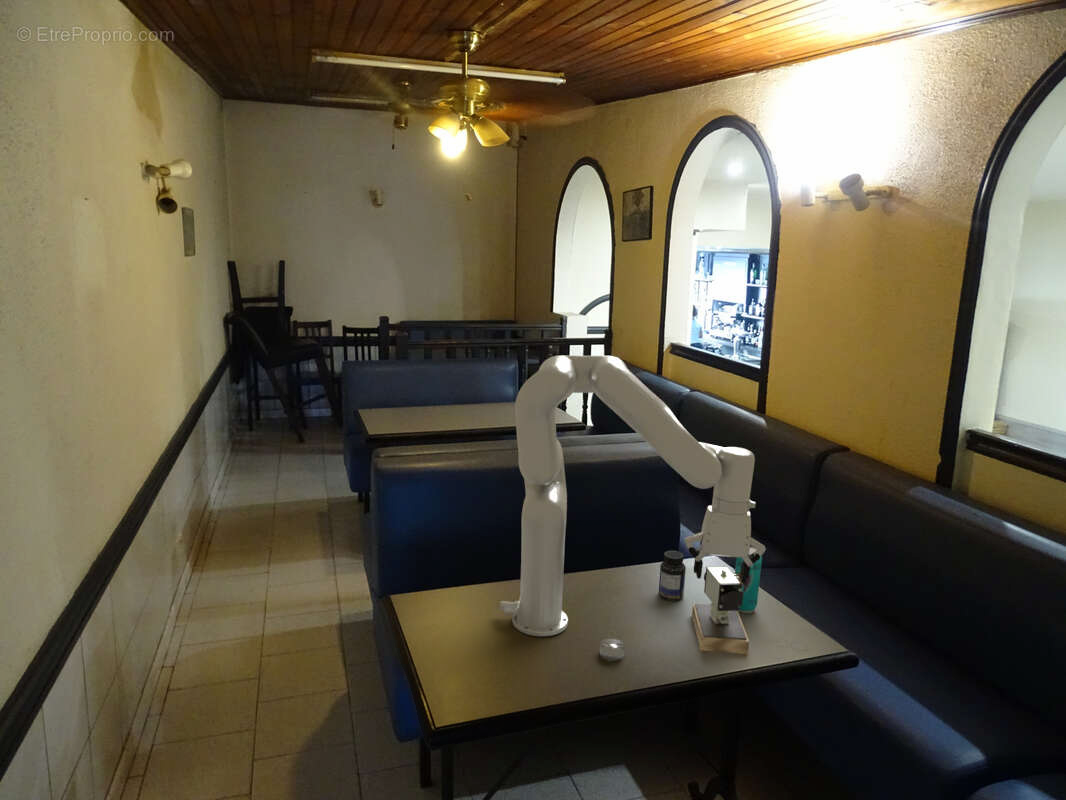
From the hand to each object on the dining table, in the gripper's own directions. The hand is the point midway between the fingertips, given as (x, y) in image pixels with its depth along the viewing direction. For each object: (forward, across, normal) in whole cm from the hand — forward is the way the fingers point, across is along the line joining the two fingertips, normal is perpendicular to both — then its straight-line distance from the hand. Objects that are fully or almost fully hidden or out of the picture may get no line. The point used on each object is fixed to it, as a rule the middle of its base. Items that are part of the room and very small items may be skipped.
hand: (720, 578), depth 161 cm
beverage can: (+13, -9, -13) cm, 21 cm away
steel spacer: (+14, +23, +12) cm, 29 cm away
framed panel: (+13, -1, 0) cm, 13 cm away
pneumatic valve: (+10, -1, 0) cm, 10 cm away
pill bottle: (+14, +8, -17) cm, 23 cm away
